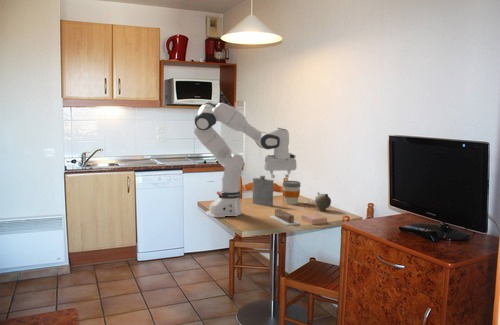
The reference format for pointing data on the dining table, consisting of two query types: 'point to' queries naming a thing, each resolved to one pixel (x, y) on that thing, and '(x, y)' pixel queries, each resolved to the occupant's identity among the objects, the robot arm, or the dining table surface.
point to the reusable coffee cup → (291, 191)
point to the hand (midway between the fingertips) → (279, 177)
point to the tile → (314, 219)
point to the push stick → (284, 216)
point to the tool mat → (283, 221)
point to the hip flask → (263, 191)
